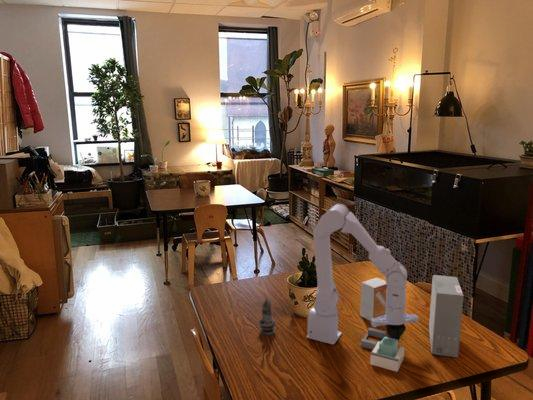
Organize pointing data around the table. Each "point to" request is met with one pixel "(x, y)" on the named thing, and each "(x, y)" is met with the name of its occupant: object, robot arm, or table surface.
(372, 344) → the frame
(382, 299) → the small box
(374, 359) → the port
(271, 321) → the grey ridged spire
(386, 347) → the plug
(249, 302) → the table surface
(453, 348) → the hard drive box
